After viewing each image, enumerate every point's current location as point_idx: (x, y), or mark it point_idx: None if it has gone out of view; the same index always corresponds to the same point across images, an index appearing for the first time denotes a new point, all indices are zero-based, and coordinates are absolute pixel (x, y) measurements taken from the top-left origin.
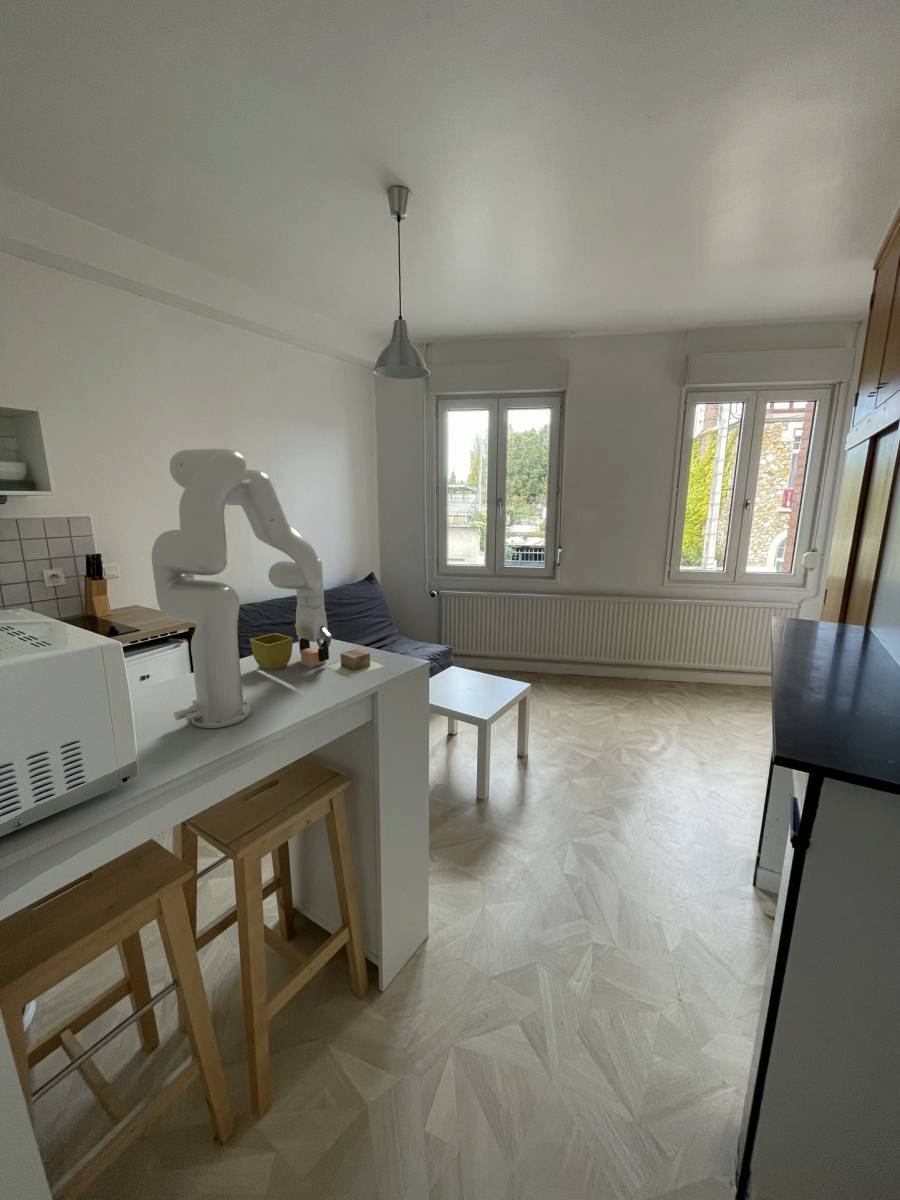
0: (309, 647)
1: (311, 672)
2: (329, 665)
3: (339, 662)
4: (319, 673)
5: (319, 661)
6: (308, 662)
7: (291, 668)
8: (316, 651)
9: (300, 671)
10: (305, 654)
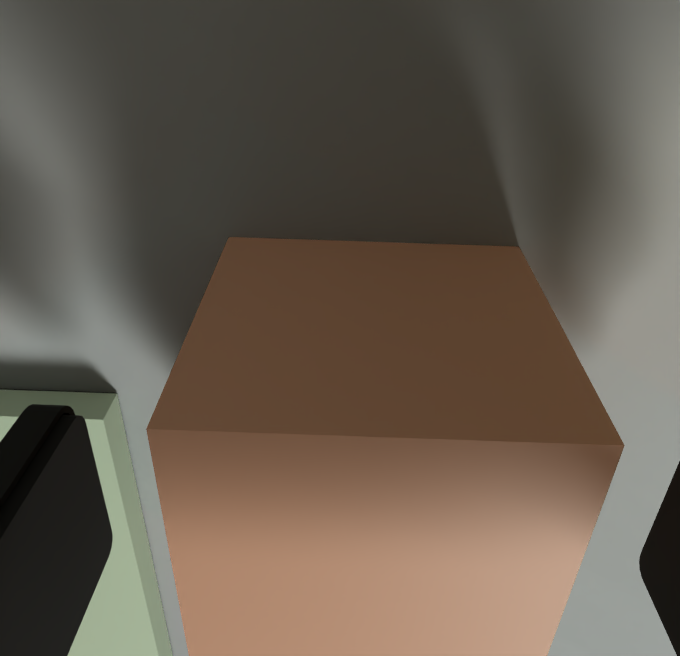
0: (671, 629)
1: (125, 179)
2: (112, 461)
3: (135, 571)
4: (3, 238)
5: (60, 406)
6: (289, 298)
7: (581, 45)
8: (226, 581)
9: (305, 73)
10: (390, 393)
